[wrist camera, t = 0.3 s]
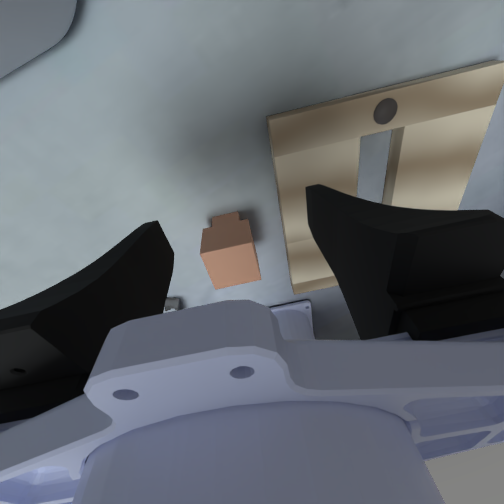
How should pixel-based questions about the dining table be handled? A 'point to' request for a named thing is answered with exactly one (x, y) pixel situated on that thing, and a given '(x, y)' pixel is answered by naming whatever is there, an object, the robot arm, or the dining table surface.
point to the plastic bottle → (31, 29)
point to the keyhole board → (400, 154)
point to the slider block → (229, 251)
